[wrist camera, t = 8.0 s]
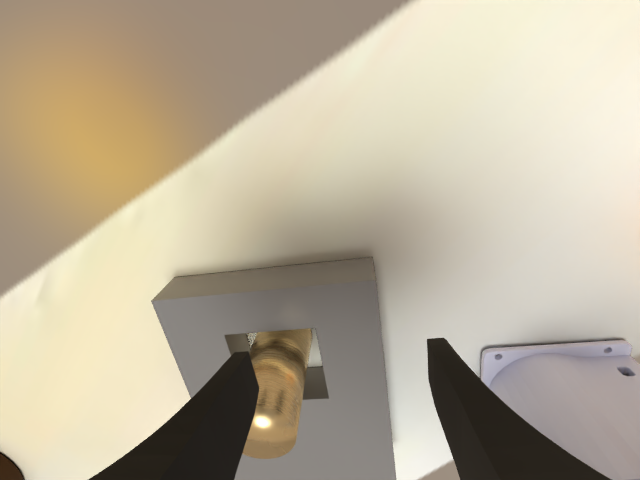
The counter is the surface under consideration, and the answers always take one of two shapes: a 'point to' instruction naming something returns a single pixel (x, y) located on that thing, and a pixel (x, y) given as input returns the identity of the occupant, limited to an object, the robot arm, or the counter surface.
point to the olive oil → (8, 470)
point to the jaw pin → (278, 391)
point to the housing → (321, 382)
